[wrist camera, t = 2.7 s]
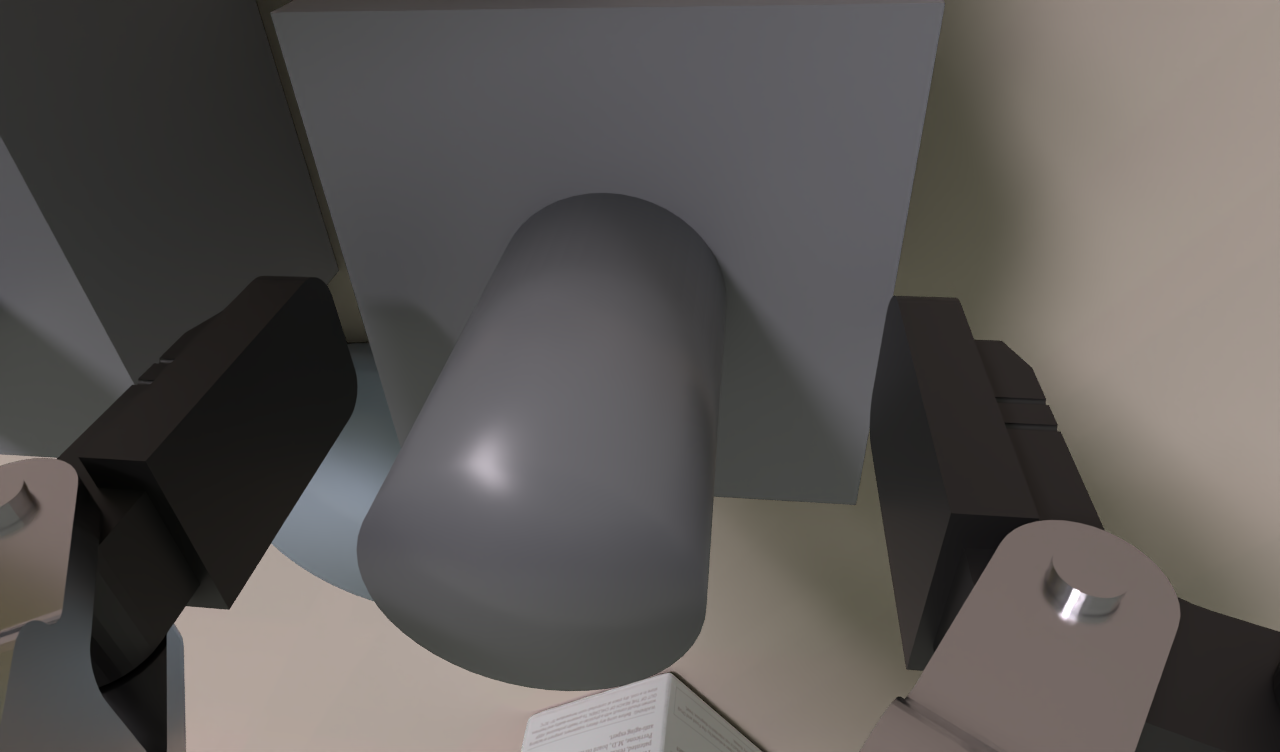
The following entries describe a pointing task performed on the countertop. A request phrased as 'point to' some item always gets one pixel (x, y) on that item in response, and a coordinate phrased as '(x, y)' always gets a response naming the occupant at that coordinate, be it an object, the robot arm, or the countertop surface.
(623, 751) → the supplement box
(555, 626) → the hood low side
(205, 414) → the robot arm
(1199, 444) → the countertop surface
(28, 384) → the hood high side
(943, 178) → the countertop surface
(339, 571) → the slate dish
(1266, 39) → the countertop surface
